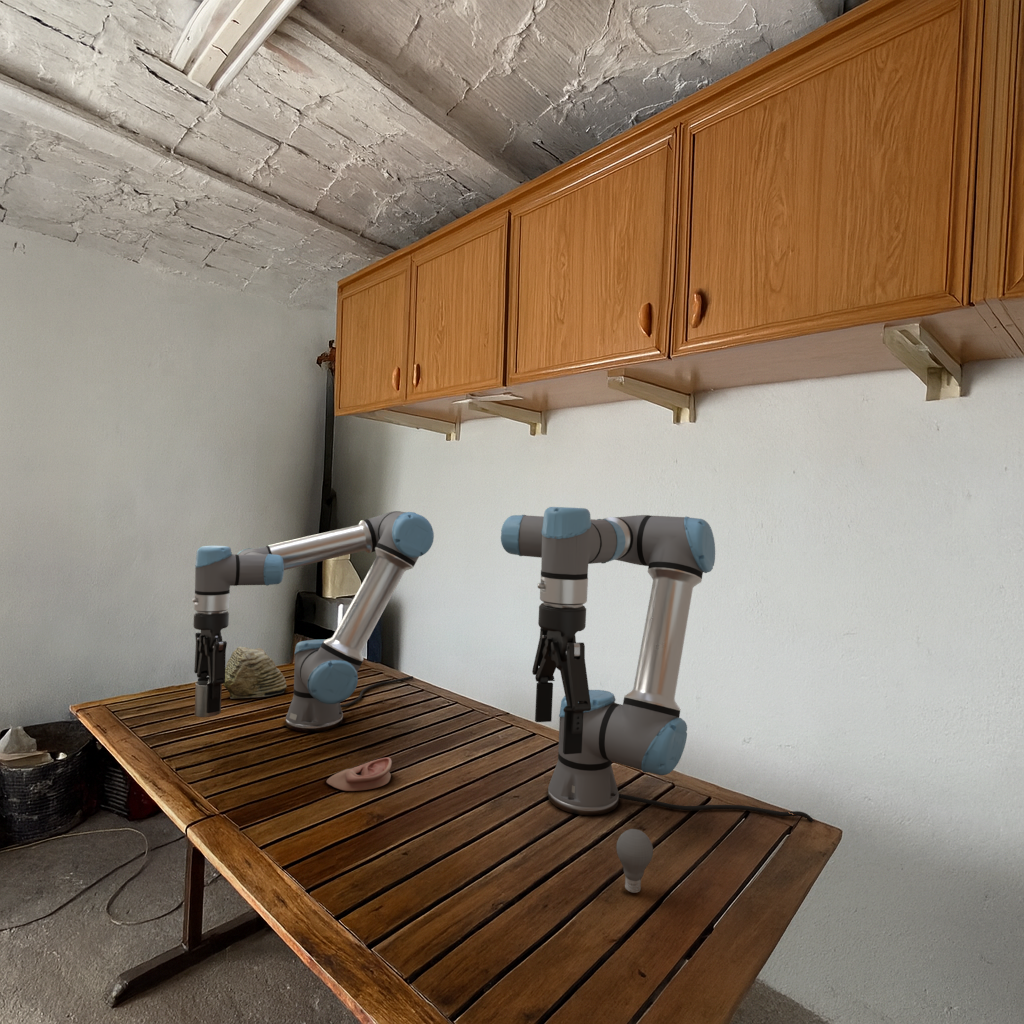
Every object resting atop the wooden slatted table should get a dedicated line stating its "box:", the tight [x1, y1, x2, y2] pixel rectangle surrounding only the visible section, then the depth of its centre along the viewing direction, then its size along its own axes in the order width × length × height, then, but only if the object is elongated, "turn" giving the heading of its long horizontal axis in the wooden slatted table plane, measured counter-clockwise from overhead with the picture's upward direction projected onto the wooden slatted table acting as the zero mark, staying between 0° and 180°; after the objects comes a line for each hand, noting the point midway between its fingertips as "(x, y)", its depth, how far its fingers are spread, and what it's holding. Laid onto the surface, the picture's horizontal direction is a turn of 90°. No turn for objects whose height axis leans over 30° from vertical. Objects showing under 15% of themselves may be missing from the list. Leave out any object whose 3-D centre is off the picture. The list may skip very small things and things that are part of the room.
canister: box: [194, 679, 223, 718], centre depth 151 cm, size 6×6×7 cm
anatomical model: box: [326, 756, 393, 792], centre depth 142 cm, size 13×4×12 cm
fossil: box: [222, 646, 288, 699], centre depth 198 cm, size 9×18×15 cm, turn 132°
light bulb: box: [615, 828, 654, 894], centre depth 106 cm, size 6×6×10 cm
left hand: (208, 708), depth 151 cm, fingers closed on canister, 6 cm apart
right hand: (556, 736), depth 101 cm, fingers open, 13 cm apart
